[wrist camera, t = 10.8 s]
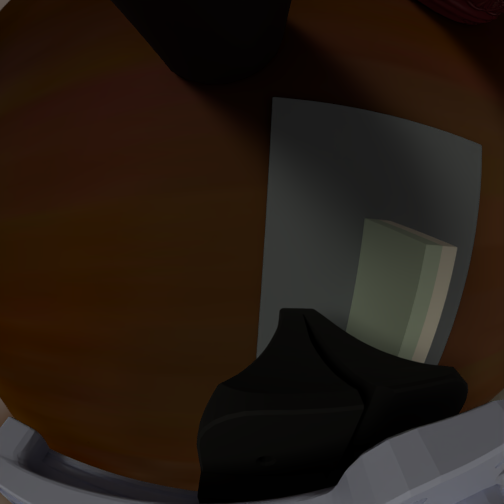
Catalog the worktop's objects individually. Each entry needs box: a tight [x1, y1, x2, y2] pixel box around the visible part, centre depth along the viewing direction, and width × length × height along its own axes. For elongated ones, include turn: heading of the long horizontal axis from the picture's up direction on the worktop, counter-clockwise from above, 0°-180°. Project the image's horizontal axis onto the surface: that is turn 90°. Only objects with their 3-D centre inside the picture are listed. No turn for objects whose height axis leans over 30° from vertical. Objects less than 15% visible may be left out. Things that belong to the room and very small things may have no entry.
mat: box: [256, 97, 482, 365], centre depth 15 cm, size 18×14×1 cm
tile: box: [346, 218, 457, 363], centre depth 12 cm, size 2×8×6 cm, turn 177°
